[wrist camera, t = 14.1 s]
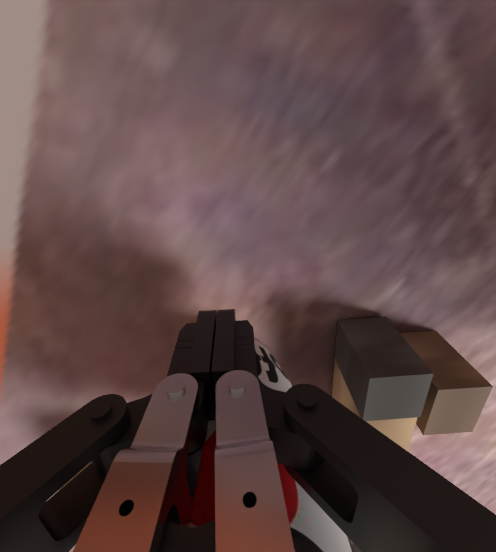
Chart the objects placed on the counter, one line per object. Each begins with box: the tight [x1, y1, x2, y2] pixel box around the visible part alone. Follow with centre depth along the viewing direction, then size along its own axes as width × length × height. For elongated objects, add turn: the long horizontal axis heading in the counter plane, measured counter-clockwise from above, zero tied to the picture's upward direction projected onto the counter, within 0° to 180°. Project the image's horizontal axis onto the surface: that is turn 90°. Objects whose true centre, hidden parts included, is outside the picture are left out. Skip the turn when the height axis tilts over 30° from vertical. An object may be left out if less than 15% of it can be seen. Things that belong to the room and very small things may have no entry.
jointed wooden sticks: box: [60, 331, 493, 490], centre depth 18 cm, size 21×18×4 cm
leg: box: [332, 317, 433, 552], centre depth 17 cm, size 3×16×5 cm, turn 4°
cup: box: [190, 339, 354, 552], centre depth 12 cm, size 8×8×10 cm
